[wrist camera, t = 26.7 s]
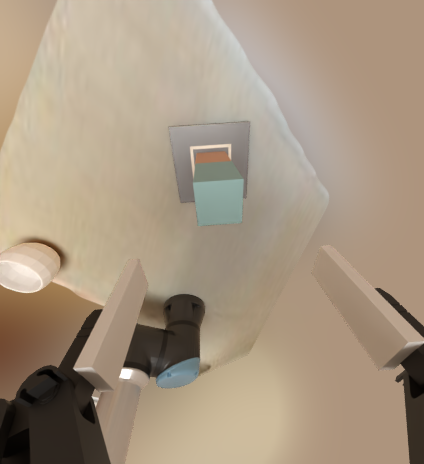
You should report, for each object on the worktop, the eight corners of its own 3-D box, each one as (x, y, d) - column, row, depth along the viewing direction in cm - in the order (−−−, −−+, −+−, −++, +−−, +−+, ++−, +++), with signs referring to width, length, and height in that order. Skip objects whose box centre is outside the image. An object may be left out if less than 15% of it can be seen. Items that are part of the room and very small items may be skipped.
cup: (18, 258, 53) (-16, 284, 45) (22, 227, 47) (-16, 250, 39) (64, 273, 57) (41, 300, 49) (73, 246, 51) (49, 271, 43)
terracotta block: (225, 179, 41) (231, 195, 33) (199, 181, 41) (198, 198, 33) (224, 151, 38) (231, 161, 30) (196, 153, 38) (195, 163, 30)
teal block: (231, 195, 33) (242, 222, 25) (199, 197, 33) (197, 226, 25) (231, 160, 30) (243, 178, 21) (195, 163, 30) (192, 182, 21)
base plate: (244, 196, 45) (246, 198, 44) (181, 200, 45) (180, 202, 44) (248, 121, 37) (250, 121, 35) (169, 126, 37) (168, 127, 35)
